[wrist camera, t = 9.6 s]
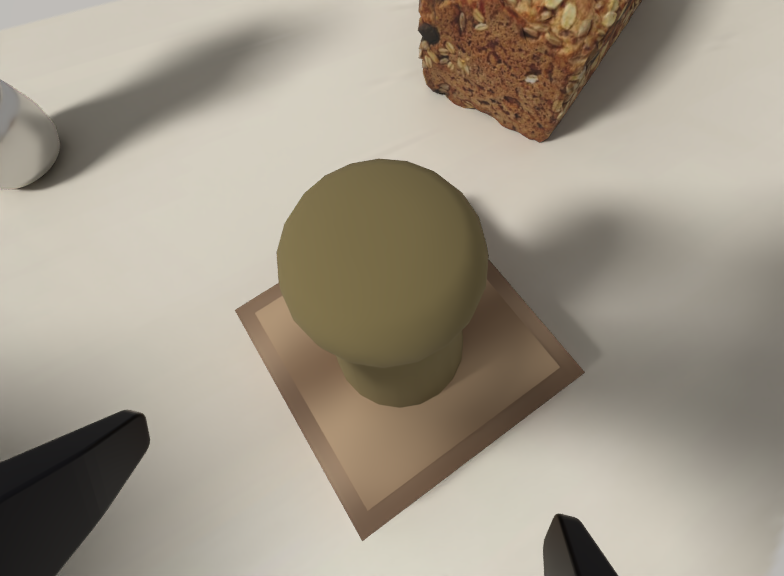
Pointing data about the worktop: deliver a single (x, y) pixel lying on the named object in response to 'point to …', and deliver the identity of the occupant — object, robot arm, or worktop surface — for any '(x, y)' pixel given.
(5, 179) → the plastic bottle
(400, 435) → the plate
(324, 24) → the worktop surface
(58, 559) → the robot arm
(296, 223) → the cork
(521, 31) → the bread
